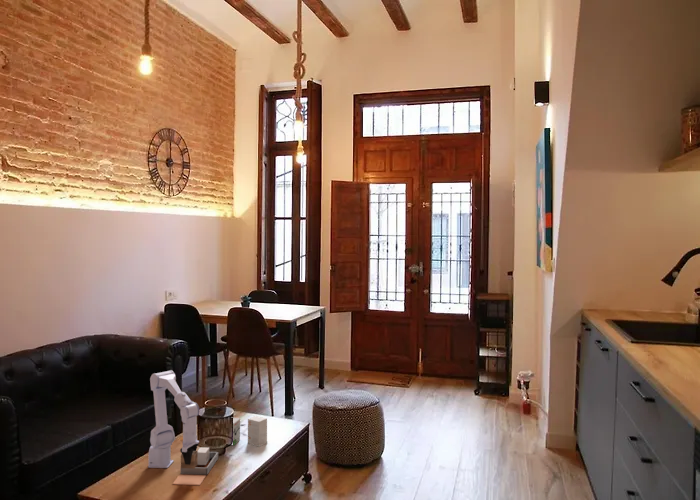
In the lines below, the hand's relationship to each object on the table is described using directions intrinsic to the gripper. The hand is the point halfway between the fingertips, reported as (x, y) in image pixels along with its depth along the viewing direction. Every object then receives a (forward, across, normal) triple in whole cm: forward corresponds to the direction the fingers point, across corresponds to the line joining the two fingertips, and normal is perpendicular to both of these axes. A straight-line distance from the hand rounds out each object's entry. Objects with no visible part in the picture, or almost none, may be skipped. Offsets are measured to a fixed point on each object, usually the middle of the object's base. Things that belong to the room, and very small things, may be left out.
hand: (189, 461), depth 241 cm
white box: (+8, +19, 0) cm, 21 cm away
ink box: (+9, +44, -8) cm, 46 cm away
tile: (+8, 0, 0) cm, 8 cm away
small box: (+9, +44, -21) cm, 50 cm away
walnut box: (+2, 0, 0) cm, 2 cm away
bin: (+8, +15, 0) cm, 17 cm away
